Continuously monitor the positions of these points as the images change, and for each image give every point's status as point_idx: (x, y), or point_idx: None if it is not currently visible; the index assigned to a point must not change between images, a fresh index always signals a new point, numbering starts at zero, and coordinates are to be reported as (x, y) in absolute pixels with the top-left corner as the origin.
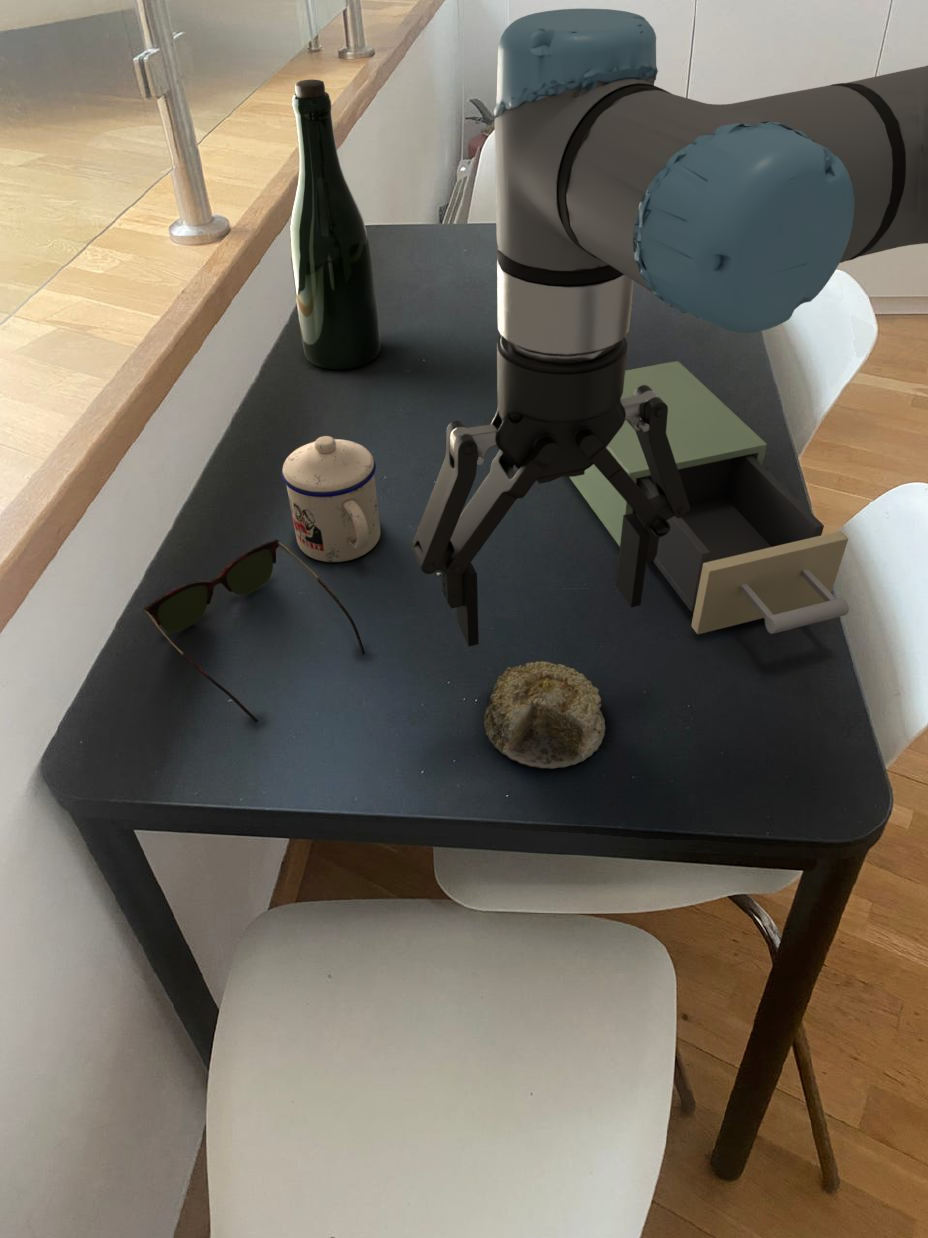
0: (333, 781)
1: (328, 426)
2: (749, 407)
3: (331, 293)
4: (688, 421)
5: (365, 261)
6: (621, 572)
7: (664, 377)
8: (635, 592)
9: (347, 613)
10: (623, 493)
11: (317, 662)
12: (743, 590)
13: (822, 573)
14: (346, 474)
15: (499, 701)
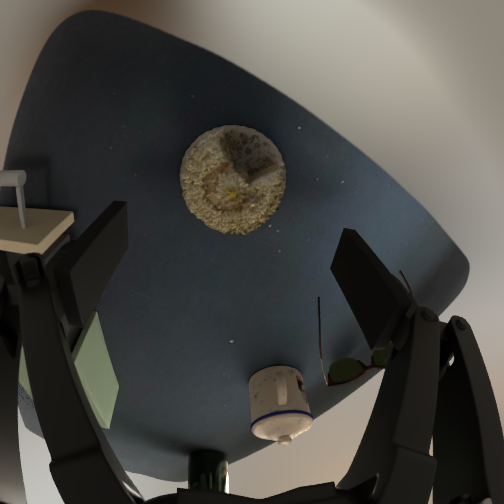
0: (392, 206)
1: (236, 432)
2: None
3: (214, 485)
4: None
5: None
6: (117, 252)
7: None
8: (114, 211)
9: (319, 329)
10: (65, 377)
11: (346, 301)
12: (26, 223)
13: None
14: (280, 422)
15: (274, 201)
